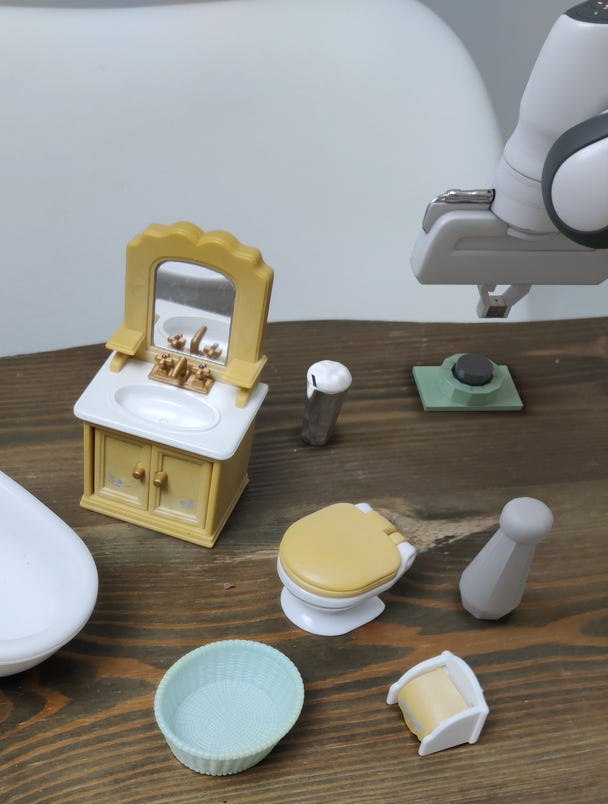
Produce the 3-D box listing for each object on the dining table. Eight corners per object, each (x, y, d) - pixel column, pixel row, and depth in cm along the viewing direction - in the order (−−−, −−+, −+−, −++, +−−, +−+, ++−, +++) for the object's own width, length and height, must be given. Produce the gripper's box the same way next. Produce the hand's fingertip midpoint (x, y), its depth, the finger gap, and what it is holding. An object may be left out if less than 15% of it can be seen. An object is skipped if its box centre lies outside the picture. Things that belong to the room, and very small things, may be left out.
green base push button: (504, 370, 115) (511, 352, 113) (521, 410, 111) (528, 393, 108) (411, 371, 114) (417, 353, 112) (425, 411, 110) (431, 394, 108)
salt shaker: (450, 620, 93) (495, 527, 82) (453, 575, 96) (497, 480, 86) (513, 633, 92) (566, 541, 82) (514, 587, 95) (565, 492, 85)
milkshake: (281, 437, 107) (295, 363, 99) (313, 416, 109) (330, 341, 101) (312, 459, 105) (329, 385, 97) (344, 437, 107) (364, 363, 99)
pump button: (484, 364, 112) (488, 352, 111) (493, 387, 110) (497, 376, 108) (449, 364, 112) (453, 353, 110) (457, 387, 109) (462, 376, 108)
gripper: (439, 208, 90) (400, 333, 102) (654, 209, 92) (592, 333, 103) (424, 171, 94) (388, 296, 105) (631, 173, 95) (573, 297, 106)
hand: (490, 315), depth 104 cm, fingers closed
